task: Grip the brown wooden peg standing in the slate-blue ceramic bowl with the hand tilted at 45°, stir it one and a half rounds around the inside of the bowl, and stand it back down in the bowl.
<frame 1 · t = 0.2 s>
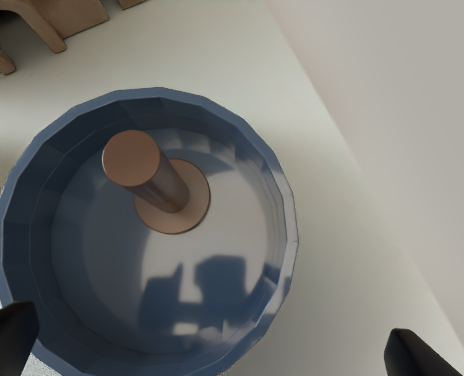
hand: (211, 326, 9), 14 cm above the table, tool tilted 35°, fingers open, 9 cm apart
bowl: (164, 235, 24), on the table
brown wooden peg: (173, 197, 23), point 1 cm above the table, touching bowl
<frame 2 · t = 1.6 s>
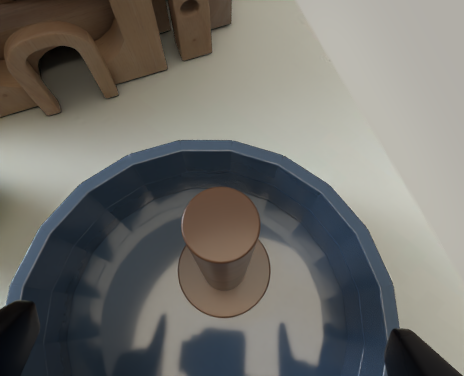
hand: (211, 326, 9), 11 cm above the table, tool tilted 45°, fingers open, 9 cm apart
bowl: (208, 317, 19), on the table
brown wooden peg: (224, 270, 19), point 1 cm above the table, touching bowl
wooden puzzle: (66, 24, 26), on the table
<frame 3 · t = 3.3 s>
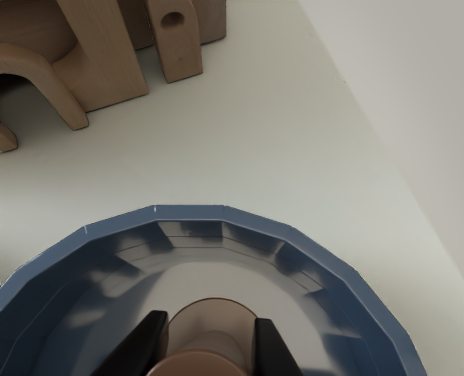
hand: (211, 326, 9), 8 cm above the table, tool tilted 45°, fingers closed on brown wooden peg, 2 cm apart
brown wooden peg: (215, 357, 15), point 1 cm above the table, touching bowl, gripper
wooden puzzle: (29, 37, 22), on the table
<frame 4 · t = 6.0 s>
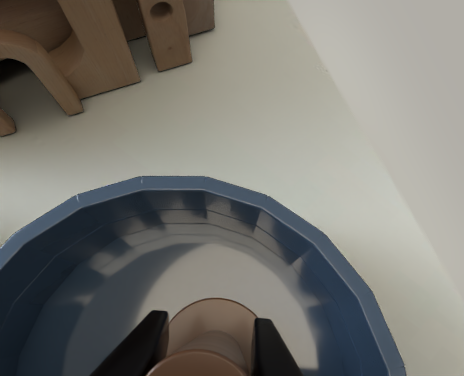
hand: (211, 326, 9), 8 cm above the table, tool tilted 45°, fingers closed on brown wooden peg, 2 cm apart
brown wooden peg: (215, 357, 15), point 1 cm above the table, touching gripper
wooden puzzle: (27, 29, 23), on the table
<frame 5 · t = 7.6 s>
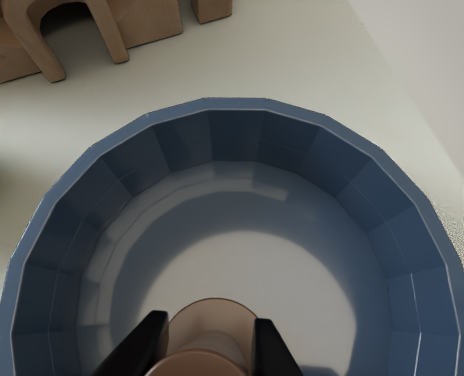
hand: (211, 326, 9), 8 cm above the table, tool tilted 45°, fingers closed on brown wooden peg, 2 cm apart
bowl: (234, 304, 17), on the table
brown wooden peg: (215, 357, 15), point 1 cm above the table, touching gripper
when the fingers open (8 cm above the table, at t = 8.6 s): brown wooden peg stays where it is, resting on bowl.
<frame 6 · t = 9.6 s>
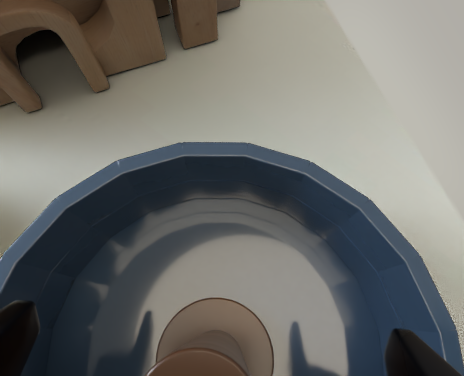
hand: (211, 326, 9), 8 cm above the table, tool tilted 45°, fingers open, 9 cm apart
bowl: (216, 355, 16), on the table
brown wooden peg: (215, 357, 15), point 1 cm above the table, touching bowl
wooden puzzle: (50, 7, 23), on the table
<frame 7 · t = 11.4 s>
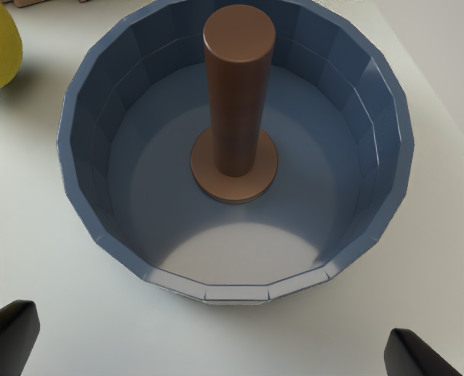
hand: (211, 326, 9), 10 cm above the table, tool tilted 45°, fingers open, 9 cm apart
bowl: (234, 166, 21), on the table
brown wooden peg: (234, 163, 20), point 1 cm above the table, touching bowl
lemon: (3, 81, 23), on the table
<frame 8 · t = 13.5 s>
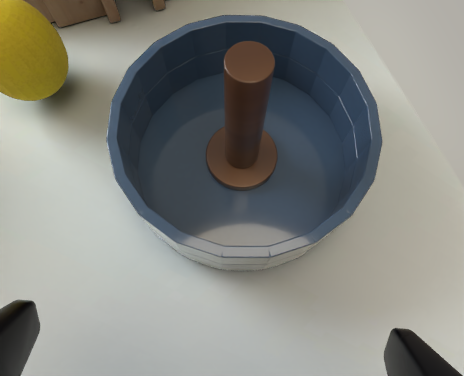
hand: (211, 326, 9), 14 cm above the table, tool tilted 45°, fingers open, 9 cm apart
bowl: (241, 160, 26), on the table
brown wooden peg: (241, 157, 25), point 1 cm above the table, touching bowl
lemon: (49, 90, 28), on the table
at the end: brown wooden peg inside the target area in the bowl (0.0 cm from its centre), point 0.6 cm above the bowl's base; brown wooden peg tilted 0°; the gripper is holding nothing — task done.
